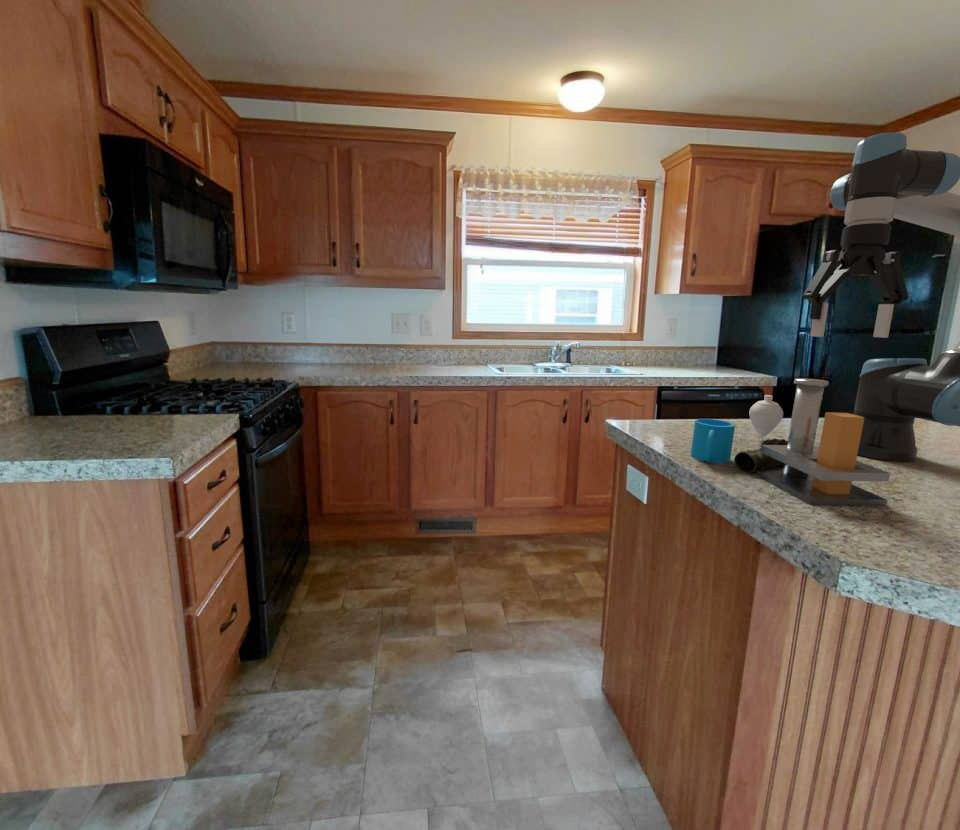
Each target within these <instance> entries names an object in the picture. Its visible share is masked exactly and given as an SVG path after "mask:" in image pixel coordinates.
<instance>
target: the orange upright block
mask: <svg viewBox="0 0 960 830" xmlns="http://www.w3.org/2000/svg"><path fill="white" fill-rule="evenodd" d="M864 418H865V417H861V416H857V415H853V413H849V412H833V411H832V412H829V411H828V412H827V411H826V412H825V414H824V419H823V425H822V431H821V437H820V441H819V445H818V446H819V452H818V457H817V463H818V464H820V465H823V466H825V467H827V468H830V469H855V464H856V461H857V457H858V455H857V453H858V448H859V443H860V438H861V433H862V428H863V423H864ZM851 484H852V485H853V481H827V480H819V479H817V478H815V477H814V480H813V485H812V486H813V487H815V488H817V489H819V490H821V491H823V492H825V493H827V494H850V489H851Z"/></svg>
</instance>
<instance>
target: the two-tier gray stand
mask: <svg viewBox="0 0 960 830" xmlns="http://www.w3.org/2000/svg"><path fill="white" fill-rule="evenodd" d="M793 384H795V385H796V389H795V396H794V403H793V406H792V407H793V408H792V414H791V421H790V425H789V431H788V437H787V441H788V443H787V445H762V444H761V445H760V448H761V450H760V452H761V453H764V454H766V455H768V456H770V457H772V458H774V459H776V460H779V461H781V462H783V463H784V466H782V467H783V468H782V470H778V469H775V470H774V469H763V470H756V472H754V473H755V474H754V475H755V476H757V477H759V478H760V479H763V480H764V481H766V482H768V483H770V484H772V485H773V486H775V487H777V488H779V489H781V490H782V491H784V492H786V493H788V494H790V495H791V496H793V497H795V498H797V499H798V500H801V501H803V502H804V503H806V504H808V505H832V506H833V505H836V506H838V505H839V506H841V505H842V506H843V505H844V506H850V505H852V506H887V503H888V499H886V498H884V497H881V496H879V495H878V494H874V492H873V493H872V492H870V491H868V490H866V489H863V488H861V487H860V486H857V485H855V484H853V483H852V484H851V489H850V494H827V493H825V492H823V491H821V490H819V489H817V488H815V487H813V486H812V485H813V480H814V477H815V478H817V479H819V480H827V481H852V482H882V483H883V482H884V483H885V482H889V481H890V476H891V473H890V472H888V471H885V470H883V469H880V468H878V467H874V466H871V465H870V464H867V463H864V462H861V461H858V460H856V464H855V469H830V468H827V467H825V466H823V465H820V464H818V463H817V457H818V452H819V446H820V445H815V440H816V436H817V429H818V425H819V417H820V412H821V407H822V402H823V395H824V391H825V390H824V389H825V387H827V388H828V387H829V384H830V383H829V380H824V379H816V378H799V377H798V378H797V377H796V378H795V377H794V380H793Z"/></svg>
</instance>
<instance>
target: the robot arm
mask: <svg viewBox="0 0 960 830" xmlns="http://www.w3.org/2000/svg"><path fill="white" fill-rule="evenodd" d="M907 140H908V137H907V135H906V134H904V133H902V132H897V131H896V132H895V131H894V132H883V133H878V134H877V133H876V134H874V135H871V136H870V135H869V136H867V137H866V138H864V139H862V140H860V141H859V142H858V143H857V144H856V145H857V146H856V148H855V152H854V156H853V160H852V164H851V171H850V172H851V173H848V174H845V175H843V176H840V177H839V178H838V179H836V180H835V182H834V183H833V185H832V186H831V189H830V193H829V199H830V203H831V206H832V207H833V208H835V209H836V210H838V211H842V212H843V211H845V215H844V219H843V220H844V221H843V224H844V225H845V227H844V228H842V231H841V232H842V233H841V238H840V247H841V248H842V249H841V251H840V250H839V249H832V250H827V251H825V252H824V256H823V259H822V262H821V264H820V265H819V268H818V269H817V271H816V273H815V274H814V276H813V278H812V279H811V281H810V283H809V284H808V285H807V288H806V289H805V290H804V292H803V294H802V298H803V299H804V300H807V301H808V302H807V303H809V304H810V303H811V305H810V306H811V307H810V311H809V312H810V313H809V317H810V320H811V321H812V322H811V327H810V334H809V336H810V337H816V338H823V337H824V335H825V330H826V323H827V317H828V311H829V310H828V309H829V302H826V300H827V299H828V298H830V296H831V295H832V294H833V293H834V292H835V291H836V289H837V288H839V287H840V286H841V284H842V283H843V282H844V281H845V280H846V279H847V278H848V277H850V276H865V277H866V278H867V279H868V280H869V281H870V282H871V284H872V285H873V287H874V289H875V291H876V292H877V294H878V296H879V297H880V299H881V300H882V304H881V303H880V304H878V307H877V311H876V312H877V314H876V317H875V318H876V319H875V324H874V330H873V335H872V337H873V338H884V339H885V338H886V339H887V338H889V333H890V329H891V323H892V321H894V319H895V316H896V310H897V305H898V304H899V305H900V304H903V302H905V301H908V300H909V297H910V296H909V293H908V289H907V288H908V287H907V285H906V282H905V278H904V274H903V269H902V267H901V251H898V250H897V251H890V252H889V251H888V252H886V251H885V248H886V246H887V245H888V244H889V242H890V239H891V238H890V237H891V232H892V225H891V224H890V223H891V222H893V221H894V219H895V220H900V221H903V222H907V223H910V224H914V225H917V226H921V227H923V228H924V227H925V228H927V229H928V228H929V229H931V230H934V231H938V232H940V233H941V232H942V233H946V234H949V235H953V236H954V238H955V239H956V240H957V242H958V243H959V242H960V194H957V193H953V192H949V191H950V190H951V189H953V187H955V185H957V183H958V182H959V180H960V156H959V155H958V154H955V153H952V152H951V153H950V152H946V151H944V150H943V151H942V150H938V151H937V150H936V151H934V150H933V151H932V150H918V149H909V148H907V146H908V143H907ZM838 262H840V264H839V266H837V264H838ZM882 264H883V265H882ZM836 266H837V268H836ZM832 273H833V274H832ZM831 274H832V275H831ZM853 409H854V410H853V413H852V414H853V415H857V416H861V417H865V418H864V423H863V428H862V433H861V438H860V443H859V448H858V453H857V456H862V457H866V458H870V459H871V458H872V459H877V460H882V461H883V460H884V461H892V462H896V461H897V462H914V461H916V459H917V455H918V451H919V450H918V447H917V446H916V435H915V430H914V423H915V418H916V419H920V420H925V421H929V422H935V423H939V424H941V425H945V426H953V427H954V426H955V427H960V341H958V343H957V344H956V345H955V347H954V348H953V349H951V350H946V351H942V352H941V353H940V354H939V355H938V356H937V357H936V358H935V360H934V361H933V362H932V364H931V365H928V362H927V359H925V358H909V357H908V358H907V357H904V358H903V357H902V358H901V357H900V358H891V357H890V358H871V359H867V360H866V361H865V362H864V363H863V365H862V369H861V373H859V378H858V386H857V390H856V396H855V403H854V408H853Z"/></svg>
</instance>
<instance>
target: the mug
mask: <svg viewBox="0 0 960 830" xmlns="http://www.w3.org/2000/svg"><path fill="white" fill-rule="evenodd" d="M735 429H736V425H735V423H733V422H730V421H725V420H721V419H713V418H698V419H695V420H694V426H693V432H692V433H693V434H692V440H691V447H690V457H691V458H692V457H693V459H694V458H695V460H697V459H698V461H700V460H701V462H704V461H706V462H705V463H710V462H713V463H712V464H728V463H730V462H731V458H732V457H731V456H732V449H733V441H734V435H735Z"/></svg>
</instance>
